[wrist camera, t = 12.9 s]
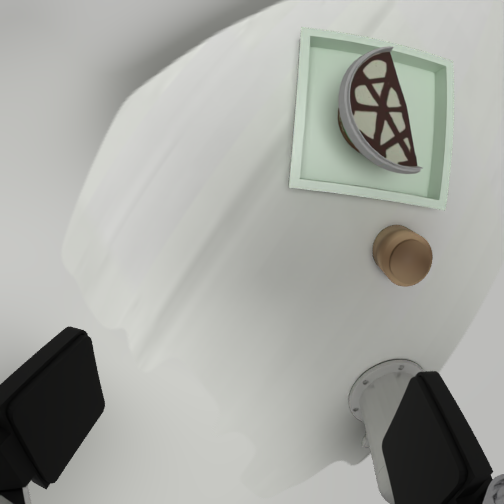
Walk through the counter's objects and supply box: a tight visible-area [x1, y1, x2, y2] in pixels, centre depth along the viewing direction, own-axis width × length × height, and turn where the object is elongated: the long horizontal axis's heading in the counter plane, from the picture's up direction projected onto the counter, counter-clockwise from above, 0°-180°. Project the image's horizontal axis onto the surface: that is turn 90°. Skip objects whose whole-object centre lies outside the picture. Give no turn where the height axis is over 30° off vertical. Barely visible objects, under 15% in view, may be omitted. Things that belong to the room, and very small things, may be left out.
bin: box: [289, 27, 454, 210], centre depth 31 cm, size 18×18×4 cm
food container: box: [338, 46, 423, 174], centre depth 28 cm, size 12×6×10 cm, turn 12°
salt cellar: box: [373, 225, 432, 286], centre depth 34 cm, size 6×6×6 cm
